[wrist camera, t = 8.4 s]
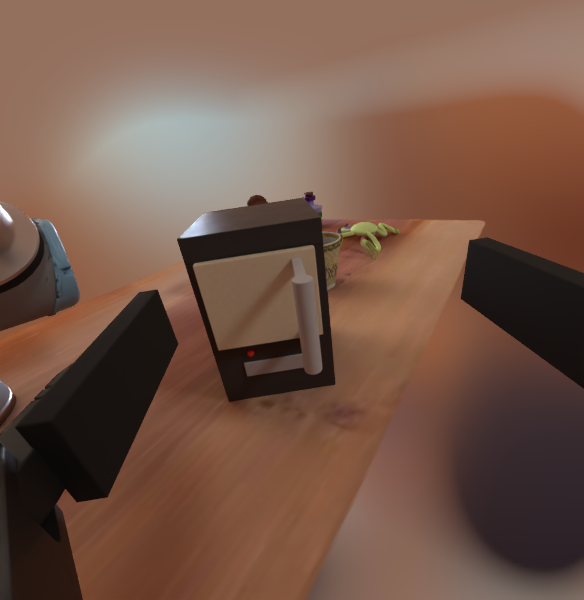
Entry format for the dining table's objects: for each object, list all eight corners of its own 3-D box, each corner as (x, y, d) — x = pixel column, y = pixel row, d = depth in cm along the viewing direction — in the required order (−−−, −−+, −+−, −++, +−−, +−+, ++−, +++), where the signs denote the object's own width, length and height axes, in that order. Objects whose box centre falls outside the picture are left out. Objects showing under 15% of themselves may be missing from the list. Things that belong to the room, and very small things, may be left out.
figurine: (303, 258, 76) (300, 237, 74) (344, 230, 95) (344, 213, 93) (372, 264, 66) (371, 241, 64) (403, 231, 85) (403, 212, 83)
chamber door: (335, 372, 25) (327, 271, 21) (208, 392, 25) (173, 295, 20) (321, 329, 31) (313, 244, 27) (219, 345, 31) (194, 262, 26)
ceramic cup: (319, 301, 54) (314, 250, 49) (285, 288, 61) (278, 242, 57) (362, 277, 61) (361, 230, 56) (327, 268, 68) (324, 225, 64)
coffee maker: (336, 387, 35) (322, 218, 25) (228, 404, 34) (175, 240, 25) (317, 327, 47) (303, 197, 37) (237, 339, 46) (204, 212, 37)
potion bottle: (325, 227, 102) (322, 192, 96) (300, 231, 102) (296, 195, 96) (321, 222, 109) (319, 189, 104) (299, 225, 110) (295, 192, 104)
